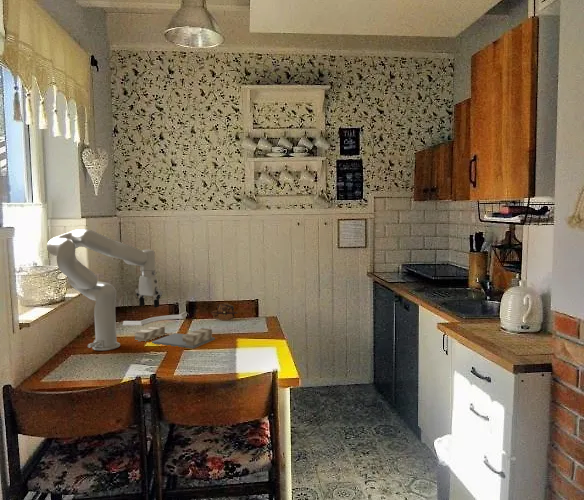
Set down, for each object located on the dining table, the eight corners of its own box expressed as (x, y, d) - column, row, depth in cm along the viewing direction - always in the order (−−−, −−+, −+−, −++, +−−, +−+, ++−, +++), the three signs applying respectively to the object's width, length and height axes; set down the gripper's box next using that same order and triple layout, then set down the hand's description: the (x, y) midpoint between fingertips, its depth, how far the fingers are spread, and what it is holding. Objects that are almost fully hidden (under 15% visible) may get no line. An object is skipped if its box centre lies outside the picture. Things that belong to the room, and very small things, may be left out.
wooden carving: (210, 320, 296) (209, 304, 295) (213, 319, 301) (212, 302, 300) (236, 321, 293) (236, 304, 292) (239, 319, 297) (238, 303, 296)
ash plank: (146, 342, 249) (145, 333, 249) (134, 341, 252) (134, 332, 252) (166, 335, 264) (166, 326, 263) (156, 333, 267) (155, 325, 266)
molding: (185, 315, 317) (185, 310, 317) (194, 317, 308) (194, 313, 308) (119, 325, 290) (119, 320, 290) (128, 328, 281) (127, 323, 281)
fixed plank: (192, 345, 237) (192, 336, 237) (182, 344, 240) (182, 335, 239) (212, 337, 251) (211, 329, 251) (202, 336, 254) (201, 328, 254)
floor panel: (193, 348, 236) (193, 346, 236) (152, 343, 246) (152, 341, 246) (214, 339, 252) (214, 337, 252) (175, 335, 263) (175, 333, 263)
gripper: (166, 273, 255) (167, 306, 257) (140, 272, 263) (141, 304, 264) (156, 275, 249) (157, 308, 250) (129, 273, 256) (131, 306, 257)
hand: (149, 306), depth 257 cm, fingers open, 9 cm apart
